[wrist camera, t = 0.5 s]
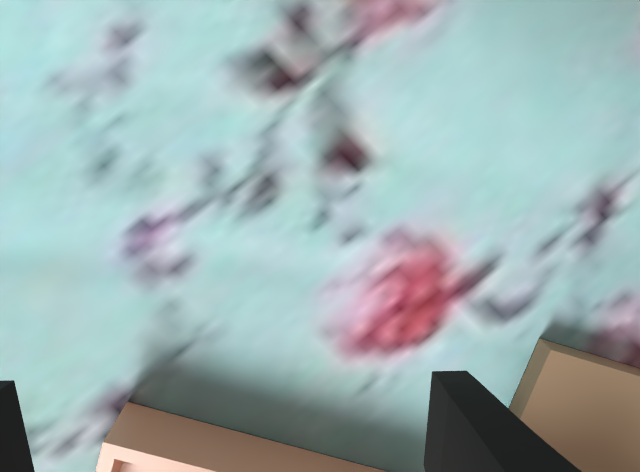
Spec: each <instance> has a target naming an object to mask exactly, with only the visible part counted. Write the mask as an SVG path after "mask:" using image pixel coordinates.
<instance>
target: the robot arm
mask: <svg viewBox="0 0 640 472" xmlns="http://www.w3.org/2000/svg"><path fill="white" fill-rule="evenodd" d="M424 467H425V472H582V471H581V470H579V469H578V468H577V467H575V466H574V465H573V464H572V463H571V462H569V461H568V460H567V459H566V458H564V457H563V456H562V455H561V454H560V453H558V452H557V451H556V450H555V449H554V448H552V447H551V446H550V445H549V444H548V443H546V442H545V441H544V440H543V439H542V438H541V437H540V436H538V435H537V434H536V433H535V432H534V431H533V430H531V429H530V428H529V427H528V426H527V425H526V424H525V423H524V422H522V421H521V420H520V419H519V418H518V417H517V416H516V415H515V414H514V413H512V412H511V411H510V410H509V409H508V408H507V407H506V406H505V405H504V404H503V403H501V402H500V401H499V400H498V399H497V398H496V397H495V396H494V395H493V394H492V393H491V392H489V391H488V390H487V389H486V388H485V387H484V386H483V385H482V384H481V383H480V382H479V381H478V380H476V379H475V378H474V377H473V376H472V375H471V374H470V373H468V372H467V371H434V372H432V379H431V390H430V401H429V412H428V423H427V434H426V445H425V456H424ZM0 472H35V471H34V467H33V463H32V458H31V454H30V449H29V445H28V440H27V436H26V431H25V427H24V423H23V418H22V414H21V409H20V405H19V400H18V396H17V391H16V387H15V383H14V381H0Z"/></svg>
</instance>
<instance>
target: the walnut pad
mask: <svg viewBox="0 0 640 472" xmlns="http://www.w3.org/2000/svg"><path fill="white" fill-rule="evenodd" d="M509 410H510V411H511V412H512V413H514V414H515V415H516V416H517V417H518V418H519V419H520V420H521V421H522V422H524V423H525V424H526V425H527V426H528V427H529V428H530V429H531V430H533V431H534V432H535V433H536V434H537V435H538V436H540V437H541V438H542V439H543V440H544V441H545V442H546V443H548V444H549V445H550V446H551V447H552V448H554V449H555V450H556V451H557V452H558V453H560V454H561V455H562V456H563V457H564V458H566V459H567V460H568V461H569V462H571V463H572V464H573V465H574V466H575V467H577V468H578V469H579V470H581V471H582V472H640V369H639V368H636V367H633V366H630V365H626V364H623V363H620V362H616V361H613V360H610V359H606V358H603V357H600V356H596V355H593V354H590V353H586V352H583V351H580V350H576V349H573V348H570V347H566V346H563V345H560V344H556V343H553V342H550V341H546V340H543V339H540V338H539V340H538V343H537V345H536V347H535V350H534V352H533V354H532V356H531V359H530V361H529V363H528V366H527V368H526V370H525V373H524V375H523V377H522V379H521V382H520V384H519V386H518V389H517V391H516V393H515V396H514V398H513V400H512V402H511V405H510V407H509Z"/></svg>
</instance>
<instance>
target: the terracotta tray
mask: <svg viewBox="0 0 640 472" xmlns="http://www.w3.org/2000/svg"><path fill="white" fill-rule="evenodd" d="M95 472H387V471H383V470H380V469H376V468H372V467H368V466H365V465H361V464H357V463H353V462H350V461H346V460H342V459H339V458H335V457H331V456H327V455H324V454H320V453H316V452H312V451H309V450H305V449H301V448H298V447H294V446H290V445H286V444H283V443H279V442H275V441H271V440H268V439H264V438H260V437H257V436H253V435H249V434H245V433H242V432H238V431H234V430H230V429H227V428H223V427H219V426H216V425H212V424H208V423H204V422H201V421H197V420H193V419H189V418H186V417H182V416H178V415H175V414H171V413H167V412H163V411H160V410H156V409H152V408H148V407H145V406H141V405H137V404H134V403H130V402H127V403H126V405H125V406H124V408H123V410H122V411H121V413H120V415H119V416H118V418H117V420H116V421H115V423H114V425H113V426H112V428H111V430H110V431H109V433H108V435H107V437H106V438H105V440H104V442H103V445H102V448H101V452H100V456H99V460H98V463H97V467H96V471H95Z"/></svg>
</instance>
